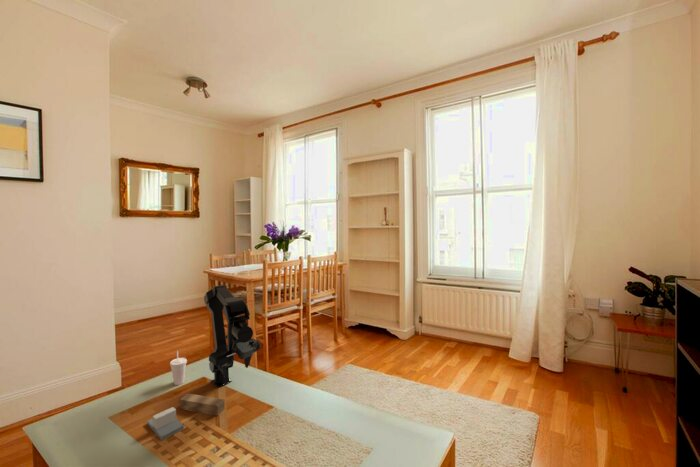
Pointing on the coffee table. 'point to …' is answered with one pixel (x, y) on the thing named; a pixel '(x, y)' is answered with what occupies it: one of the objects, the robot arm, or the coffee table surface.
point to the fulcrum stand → (165, 423)
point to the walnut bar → (202, 404)
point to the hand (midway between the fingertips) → (236, 372)
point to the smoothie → (178, 369)
